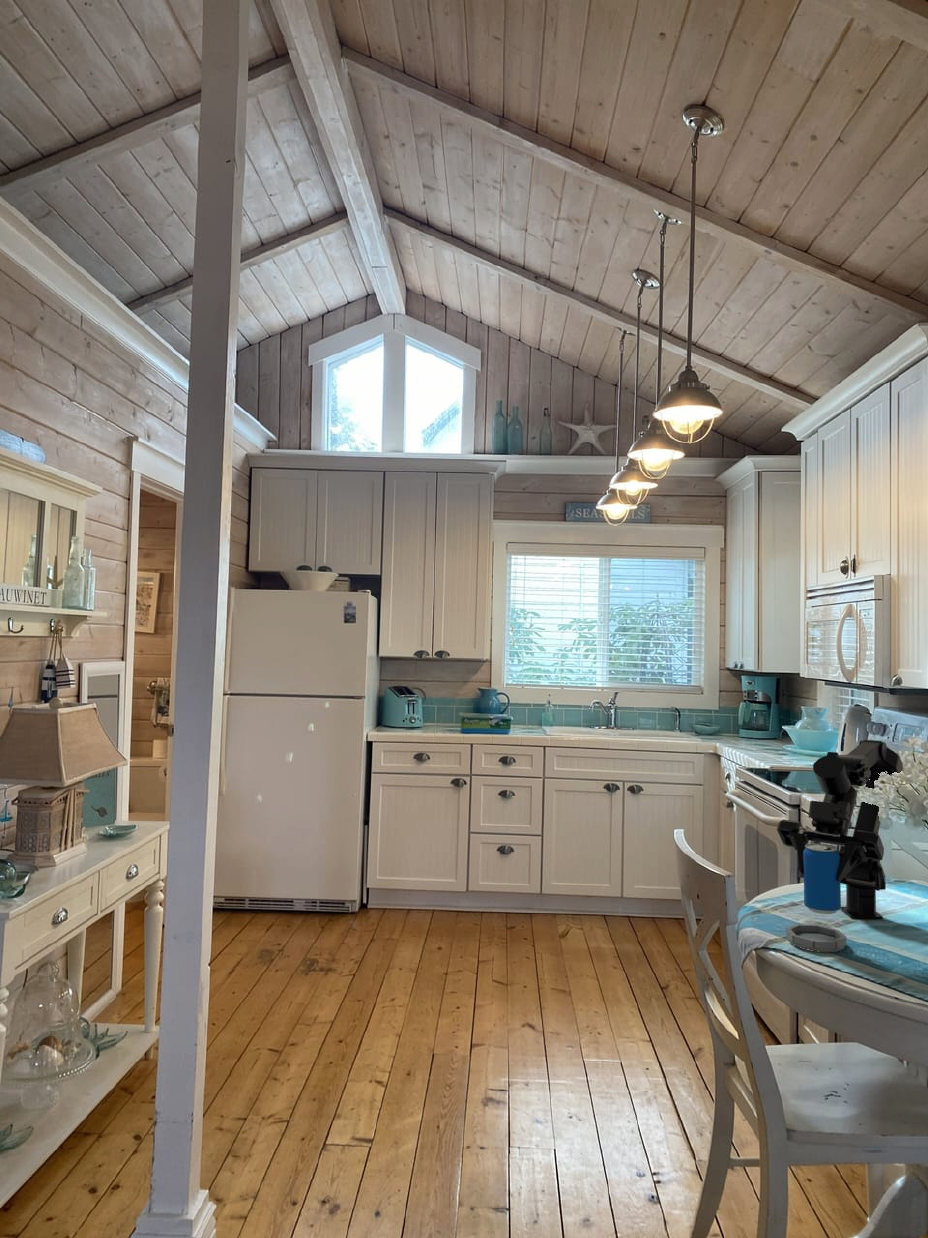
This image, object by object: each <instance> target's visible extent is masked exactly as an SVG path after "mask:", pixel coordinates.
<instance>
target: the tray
mask: <svg viewBox="0 0 928 1238" xmlns="http://www.w3.org/2000/svg"><path fill="white" fill-rule="evenodd" d="M785 936H786V937H787V941H789V942H790V943H791V944H794V945H796V946H798V947H801V948H804V949H809V950H813V951H819V952H818V953H820V952H835V953H839V952H838V951H840V952H841V950H842V951H844V949H845V945H847V936H846V935H845V934H844V933H842V932H841V931H840V930H839V929H835V928H832V927H828V926H824V925H820V924H811V923H810V924H808V923H805V924H804V923H802V924H801V923H795V924H793V925H791V926H789V927H787V928H785ZM789 942H788V943H789ZM790 943H789V944H790ZM791 944H790V945H791Z"/></svg>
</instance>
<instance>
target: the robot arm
mask: <svg viewBox="0 0 928 1238" xmlns="http://www.w3.org/2000/svg"><path fill="white" fill-rule="evenodd" d="M812 770H813V772H814V775H815V777H816V780H817V784H818V785H819V788H820V790H821V792H823V793H824V797H823V800H821V801H820V800H810V802H809V810H808V818H809V819H812V820H811V825H812V826H811V827H812V828H813V827H814V828H815V829H814V830H812V829H807V828H805V827H803V825H802V823H801V821H797V820H791V819H790V820H789V819H781V820H780V821H779V822H778V823H777V827H776V832H777V833H778V836H779V837H780V839H781V841H782V844H783V845H785V846H787V847H791V848H793V849H794V851H796V852H797V858H798V868H799V873H800V875H803V876H804V862H803V852H804V850H805V849H806V845H807V844H809V842H810V841H811V842H817V843H819V844H828V845H832V846H834V845H835V846H840V848H839V851H838V852H839V854H840V865H839V868H838V872H837V877H836V878H837V881H840V885H845V888H846V889H845V895H846V896H845V898H846V903H845V905H846V906H841V909H840V910H841V911H842V912H843V913H844V914H846V915H847V916H848V917H850V918H852V919H879V920H882V919H883V915H882V914H880V913H879V912H878V911H877V894H876V893H877V891H878V892H880V891H883V890H884V891H885V890H887V887H886V886H887V885H886V882H887V881H886V874H885V872H884V869H883V865H882V863H881V861H883V858H884V854H885V847H884V845H883V842H882V839H881V836H880V835H879V831H880V826H881V822H882V821H881V822H880V821H879V816H878V812H879V807H878V806H876V805H873V804H872V805H871V804H868V803H865V802H860V806H859V809H858V814H857V818H856V822H855V825H854V829H853V834H852V835H851V836H850V835H848V833H849V831H850V830H849V828H852V825H853V823H852V818H853V813H854V808H855V806H856V805H857V797H858V792H857V790H856V788H855V787H862V788H863V787H864V788H865V787H868V788H874V781H875V780H878V778H879V776H880V775H879V774H880V773H881V772H885V771H887V772H888V773H887V774H889V775H890V774H892V773H894V772H897V773H900V772H901V771H902V770H903V771H904V764H903V762H902V759H901V757H900V755H899V754H898V753H897V752H895V751H894V750H892V749H891V748H889V747H888V746H887V743H886V742H884V741H882V740H876V739H875V740H873V739H863V740H859V742H858V745H857V746H855V748H854V749H852V750H851V751H850V752H848V753H847V754H839V752H835V751H827V753H826V755H824V756H821V757H820V758H818V759H817V760H816V761H815V762H813V765H812ZM878 773H879V774H878ZM885 773H886V772H885ZM869 779H870V780H869ZM865 784H866V785H865Z"/></svg>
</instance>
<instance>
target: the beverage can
mask: <svg viewBox="0 0 928 1238" xmlns="http://www.w3.org/2000/svg"><path fill="white" fill-rule="evenodd" d="M803 862H804V874H803V904H804V905H803V906H805V907H806V908H807V909H808V910H809V912H810V911H811V912H813V913H815V914H821V915H822V914H823V915H833V914H836V913H837V912H838V911H840V910H841V907H842V901H841V900H842V899H841V897H842V894H841V893H842V890H841V887H842V886H841V885H842V884H841V883H840V881H837V878H836V877H837V872H838V868H839V865H840V854H839V851H838V846H836V845H835V846H834V845H833V844H826V843H820V842H817V843H815V842H814V843H808V844H807V845H806V849H805V850H804V852H803Z"/></svg>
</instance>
